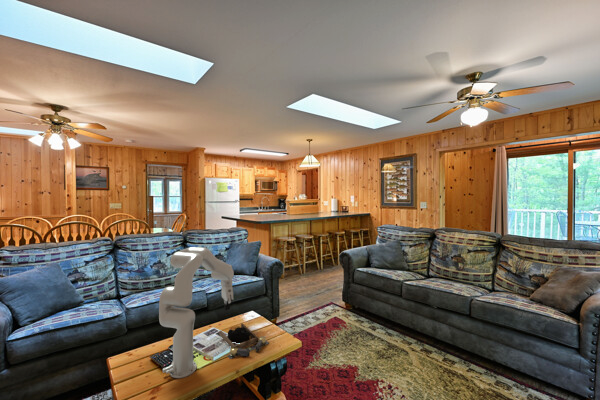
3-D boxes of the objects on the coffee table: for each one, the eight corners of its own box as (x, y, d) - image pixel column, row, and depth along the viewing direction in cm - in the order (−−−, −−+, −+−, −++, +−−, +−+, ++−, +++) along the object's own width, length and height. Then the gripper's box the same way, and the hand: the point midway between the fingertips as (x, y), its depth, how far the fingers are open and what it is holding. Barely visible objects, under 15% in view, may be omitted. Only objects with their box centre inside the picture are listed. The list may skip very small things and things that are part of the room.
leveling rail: (229, 359, 144) (229, 358, 144) (227, 356, 147) (227, 354, 147) (269, 343, 159) (269, 342, 159) (266, 340, 162) (266, 339, 162)
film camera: (254, 338, 165) (254, 324, 165) (248, 346, 156) (248, 331, 156) (233, 335, 169) (233, 321, 169) (225, 343, 160) (225, 328, 159)
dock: (233, 351, 151) (233, 346, 150) (219, 335, 168) (219, 330, 168) (258, 342, 160) (258, 337, 160) (242, 327, 178) (242, 323, 178)
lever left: (228, 356, 146) (228, 349, 146) (232, 351, 150) (232, 345, 150) (248, 358, 144) (248, 351, 144) (251, 353, 148) (251, 347, 148)
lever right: (259, 340, 161) (259, 335, 161) (266, 341, 160) (266, 335, 160) (253, 351, 150) (253, 345, 150) (260, 352, 149) (260, 346, 149)
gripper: (236, 284, 175) (236, 311, 176) (227, 278, 187) (228, 304, 188) (225, 287, 171) (226, 315, 171) (217, 281, 182) (217, 307, 183)
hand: (227, 309), depth 180 cm, fingers closed
